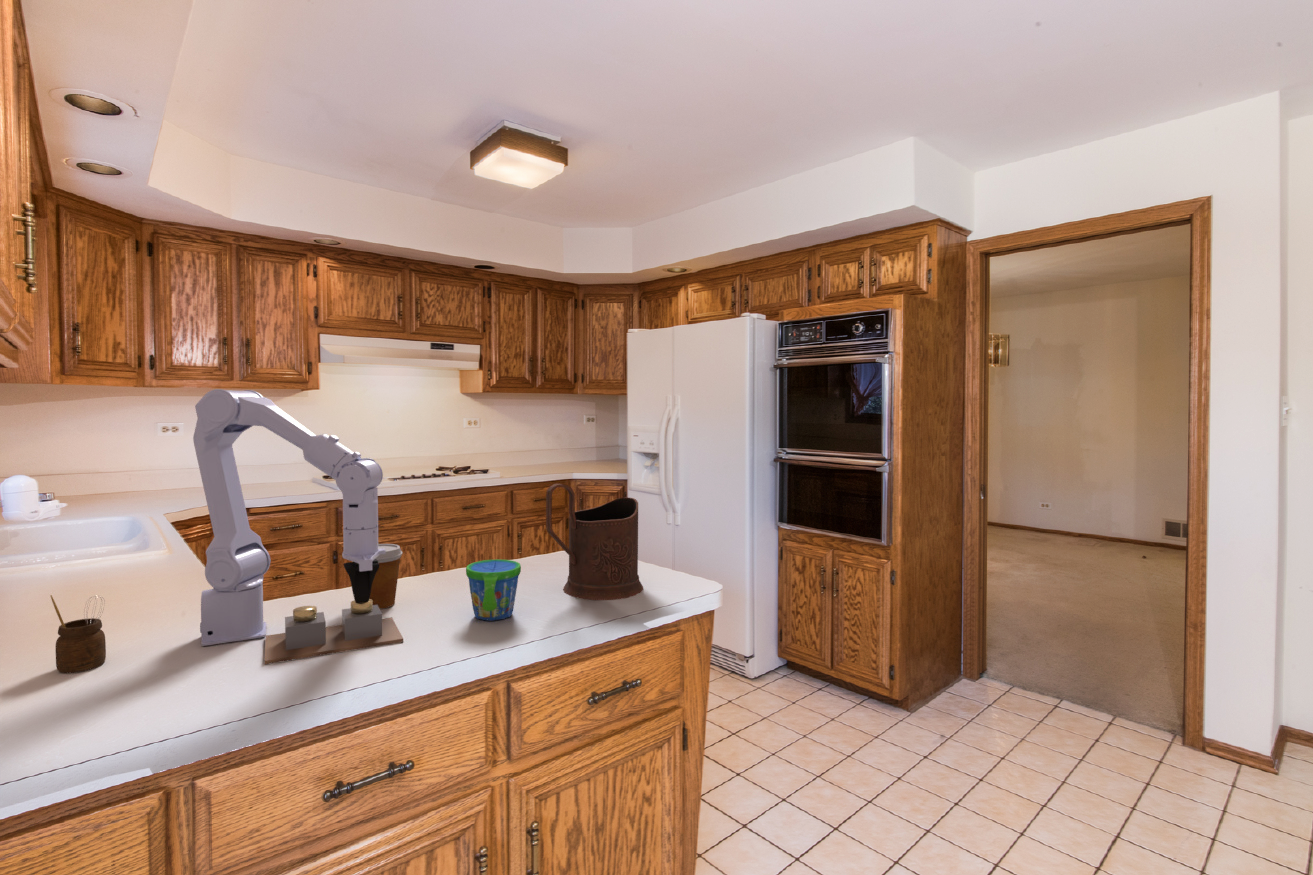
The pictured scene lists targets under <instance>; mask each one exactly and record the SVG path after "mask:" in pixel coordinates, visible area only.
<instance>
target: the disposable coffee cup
mask: <svg viewBox="0 0 1313 875" xmlns="http://www.w3.org/2000/svg"><path fill="white" fill-rule="evenodd" d="M380 548H384V549H385V550H386V553H385V554H380V555H379V556H377V557H376V558H375V559H377V560H378V563H379V569H378V571H377V572H376V574H375V577H374V580H373V583H372V588H371V593H370V598H369V599H372V600H373V605H378V607H379V609H380V610H383V609H387V608H391V607H393V606H394V605H395V604H396V595H397V589H398V588H397V586H398V580H399V579H398V577H399V570H400V562H401V557H402V555H403V551H402V549H401V547H400V545H398V544H394V543H378V549H380Z"/></svg>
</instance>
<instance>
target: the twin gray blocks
mask: <svg viewBox="0 0 1313 875" xmlns="http://www.w3.org/2000/svg"><path fill="white" fill-rule="evenodd" d="M325 617H326V616H325V614H324V611H321V612H317V617H316V618H315V619H312V620H309V621H294V620H293V615H291V616H285V617H284V624H285V625H284V627H285V628H284V633H285V642H286V650H291V649H297V648H304V647H310V646H316V645H323V644H326V627H327V625H326V624H327V622H326V618H325ZM382 619H383V612H382V611H381V609H379V607H378V605H373V610H372V611H370V612H366V613H360V614H359V613H351V607H350V608H342V609H341V625H342V632H343V635H344V639H345V641H348V640H355V639H361V638H368V637H374V636H380V635H382Z"/></svg>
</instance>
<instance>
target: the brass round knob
mask: <svg viewBox="0 0 1313 875" xmlns="http://www.w3.org/2000/svg"><path fill="white" fill-rule="evenodd" d="M350 608H351V613H359V614H360V613H366V612H370V611H372V610H373V600H372V599H369V601H368V602H363V603H356V602H355V599H353V600H352V601H350Z"/></svg>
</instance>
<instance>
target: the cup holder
mask: <svg viewBox="0 0 1313 875" xmlns="http://www.w3.org/2000/svg"><path fill="white" fill-rule="evenodd" d="M558 488H563V489H565V490H566V491H567V492H568V515H569V516H568V544H569V545H568V546H567V545H566V544H565V543H564V542H563V540H561V538H560V537H559V536H558V535H557V534H556V533H555V531H553V528H552V519H553V517H552V516H553V515H552V508H553V492H554V491H555V490H556V489H558ZM575 497H576V496H575V492H574V489H573V488H572V487H571V486H569V485H566V484H562V483H554V484H552V485H551V486H549V487H548V488H547V489H546V493H545V529H546V532H547V534H549V536H551V538H552V539H553V540H554V541H555V542H556V543H557V544H558V545H559V546H560V547H561V548H562V549H563V551H564V552H565V553H566V554H567V555H568V575H567V579H566V580H567V581H566V583H565V584H564V586H563V588H562V591H563V593H565V594H566V595H567V596H570V597H572V598H576V599H582V600H587V601H589V600H590V601H612V600H613V601H614V600H622V599H628V598H632V597H634V596H637V595H639V594H641V593H642V592H643V591H644V586H643V584H642V582H641V581H640V575H639V574H638V573H639V570H638V568H639V565H638V564H639V561H638V560H639V501H638V500H637V499H635V498H633V497H627V496H626V497H625V496H623V497H618V498H616V499H613V500H611V501H608V502H606V503H604V504H602V505H599V506H596V507H593V508H592V507H591V508H586V509H580V510H576V509H575V505H576V501H575V500H576V498H575ZM575 510H576V511H575Z"/></svg>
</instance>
